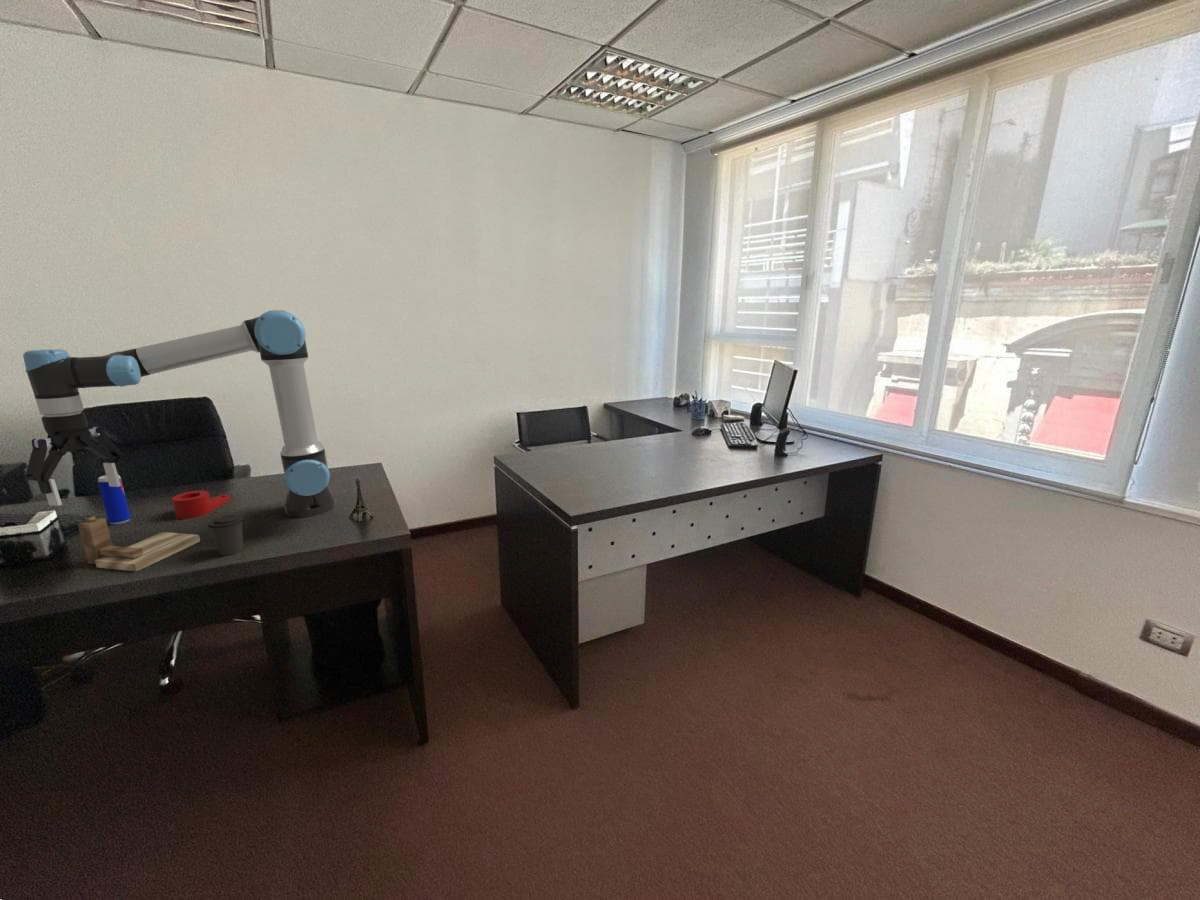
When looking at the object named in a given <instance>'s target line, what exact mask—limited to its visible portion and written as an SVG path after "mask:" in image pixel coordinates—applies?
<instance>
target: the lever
mask: <svg viewBox="0 0 1200 900" xmlns="http://www.w3.org/2000/svg"><path fill="white" fill-rule="evenodd" d="M230 500H231V495H230V494H222V495H218V496H214V497H211V496H210V494H209V491H206V490H194V491H193V490H192V491H187V492H183V493H179V494H176V495H173V497H171V501H172V506H173V511H174V516H175V518H176V519H179V520H187V519H188V520H189V519H194V518H200V517H203V516H205V515H207V514H209V513H211V512H212V511H214V510H216V509H218V508H219V507H220V506H223V505H224V504H226V503H227V502H229V501H230Z"/></svg>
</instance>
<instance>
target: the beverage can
mask: <svg viewBox="0 0 1200 900" xmlns="http://www.w3.org/2000/svg"><path fill="white" fill-rule="evenodd" d="M118 477H119V481H120V484H121V486H119V487H112V486H109V483H108V480H107V476H106V474H105V475H102V476H99V477H98V478H97V483H98V486H99V492H100V494H101V499H102V501H103V502H102V503H103V506H104V511H105V514H106V520H107V523H109V524H110V525H119V524H124V523H127V522H129V521H130V520H131V517H132V516H131V513H130V510H129V505H128V501H127V496H126V494H125V489H124V484H123V481H122V477H121V476H120V474H118Z"/></svg>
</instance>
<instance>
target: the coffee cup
mask: <svg viewBox="0 0 1200 900" xmlns="http://www.w3.org/2000/svg"><path fill="white" fill-rule="evenodd" d="M244 520H245V518H244V517H243V516H241V515H237V514H233V515H223V516H220V517H216V518H214V519H212V520H210V521H209V522H208V524H207V528H210V530H211V533H212V537H213V539H214V542H215V545H216V548H217V551H218V554H219V556H223V557H225V556H226V557H229V556H233V555H237V554H239V553H241V552H242V551H243V550H244V543H243V541H244V539H243V538H244V537H243V521H244Z"/></svg>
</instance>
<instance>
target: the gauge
mask: <svg viewBox="0 0 1200 900" xmlns="http://www.w3.org/2000/svg"><path fill="white" fill-rule="evenodd" d="M77 527H78V531H79V534H80V538H81V541H82V545H83V549H84V553H85V556H86V559H87V563H88V564H92V565H96V563H95V560H97V559H99V558H102V557H104V556H116V557H127V558H135V557H138V556H140V555H142V554H143V550H142V548H132V547H128V546H120V545H119V546H118V545H114V544H113V541H112V537H111V535H110V530H109V525H108V520H107V518H104V517H103V518H101V517H96V516H95V515H94V516H88V517H86V520H84V521H82V522H78V523H77Z"/></svg>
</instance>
